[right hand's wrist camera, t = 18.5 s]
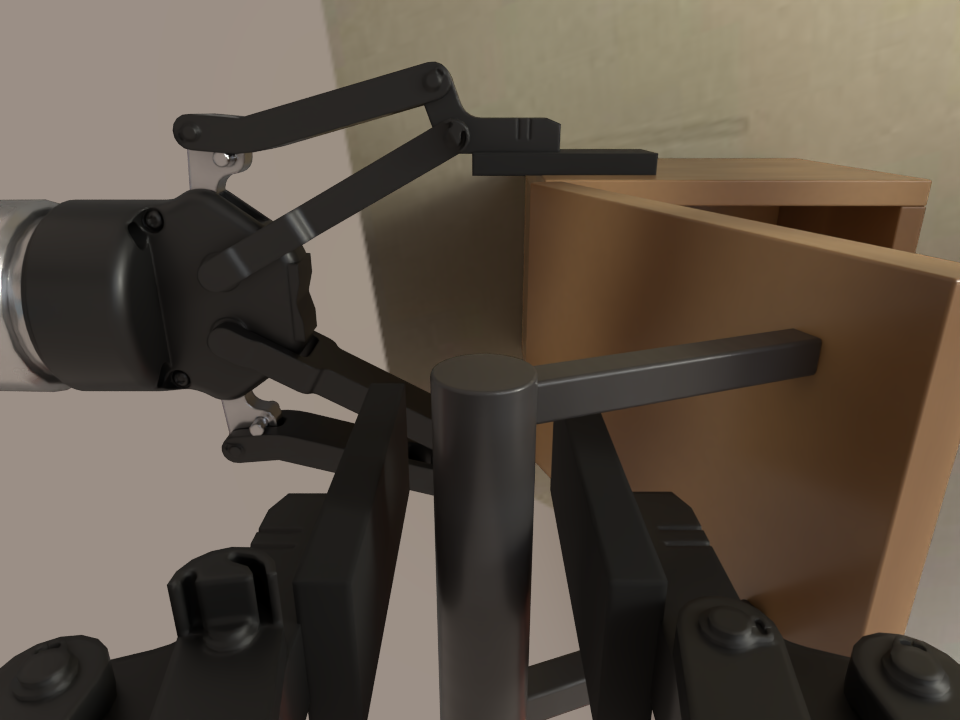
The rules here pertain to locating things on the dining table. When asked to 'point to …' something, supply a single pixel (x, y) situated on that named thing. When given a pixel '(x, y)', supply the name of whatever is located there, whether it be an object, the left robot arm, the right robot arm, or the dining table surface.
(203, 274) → the left robot arm
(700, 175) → the cabinet
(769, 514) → the wooden door with handle
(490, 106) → the dining table surface
